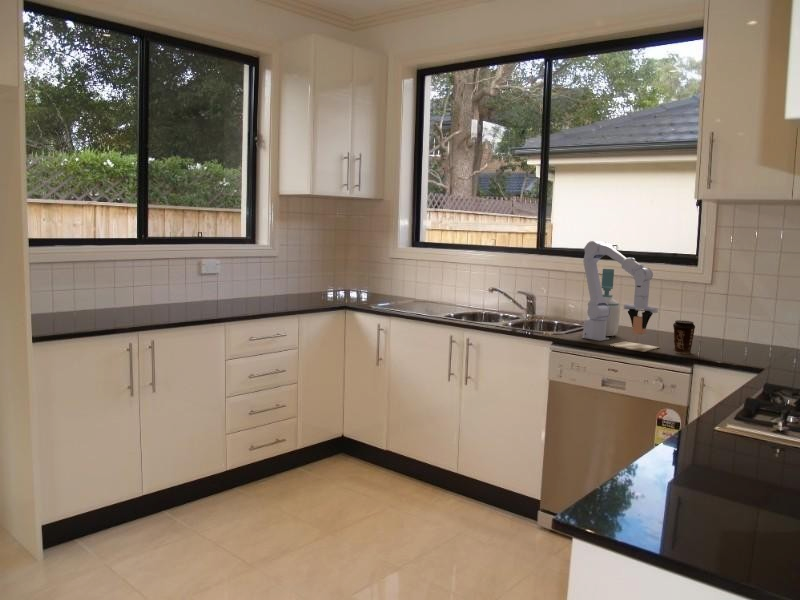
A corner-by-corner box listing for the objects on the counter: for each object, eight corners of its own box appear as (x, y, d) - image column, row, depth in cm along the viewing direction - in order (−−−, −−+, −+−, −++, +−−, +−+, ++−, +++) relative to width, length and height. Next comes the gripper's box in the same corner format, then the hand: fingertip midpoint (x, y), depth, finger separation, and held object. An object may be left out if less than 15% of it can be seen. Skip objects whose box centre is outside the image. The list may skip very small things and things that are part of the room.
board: (608, 345, 294) (608, 344, 294) (624, 342, 303) (625, 341, 303) (644, 351, 282) (644, 350, 282) (659, 348, 292) (659, 347, 292)
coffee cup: (673, 349, 290) (675, 319, 288) (694, 352, 286) (696, 321, 284) (669, 352, 282) (672, 321, 281) (691, 355, 278) (693, 323, 277)
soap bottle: (589, 336, 317) (594, 268, 314) (590, 332, 329) (594, 267, 325) (617, 338, 314) (622, 270, 310) (617, 334, 326) (622, 268, 322)
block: (632, 333, 294) (633, 315, 293) (636, 332, 297) (638, 315, 296) (641, 334, 291) (642, 316, 291) (645, 333, 294) (646, 316, 293)
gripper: (662, 297, 290) (659, 329, 291) (630, 293, 300) (627, 324, 302) (654, 298, 285) (651, 330, 287) (622, 294, 295) (619, 325, 297)
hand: (639, 327), depth 294 cm, fingers closed on block, 4 cm apart
